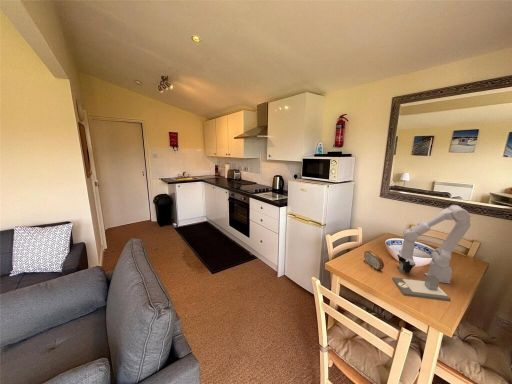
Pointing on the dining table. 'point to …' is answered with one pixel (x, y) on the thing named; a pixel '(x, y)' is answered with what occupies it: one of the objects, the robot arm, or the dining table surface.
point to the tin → (374, 260)
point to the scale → (419, 289)
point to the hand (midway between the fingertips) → (404, 269)
